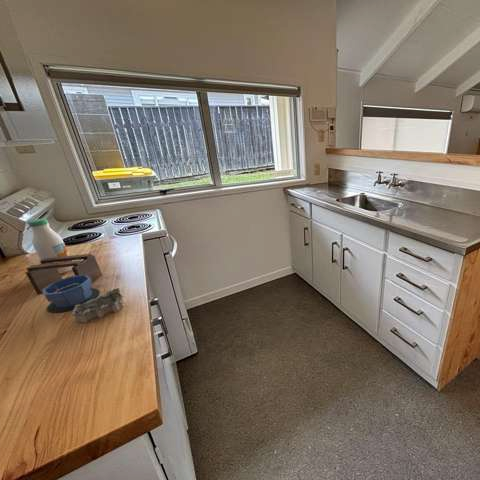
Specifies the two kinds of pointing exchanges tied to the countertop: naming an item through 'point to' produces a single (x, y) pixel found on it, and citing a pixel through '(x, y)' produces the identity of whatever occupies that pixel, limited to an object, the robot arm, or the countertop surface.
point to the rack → (49, 272)
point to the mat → (54, 309)
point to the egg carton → (99, 306)
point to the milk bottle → (48, 242)
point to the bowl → (69, 291)
